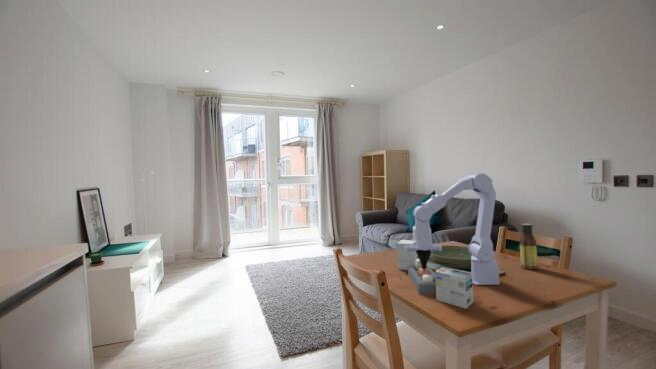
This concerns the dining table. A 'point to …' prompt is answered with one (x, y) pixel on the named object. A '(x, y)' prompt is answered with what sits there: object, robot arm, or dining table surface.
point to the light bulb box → (454, 287)
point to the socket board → (418, 281)
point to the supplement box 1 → (406, 255)
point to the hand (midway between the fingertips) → (423, 268)
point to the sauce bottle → (528, 248)
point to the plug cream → (427, 278)
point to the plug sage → (418, 264)
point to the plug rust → (423, 271)
